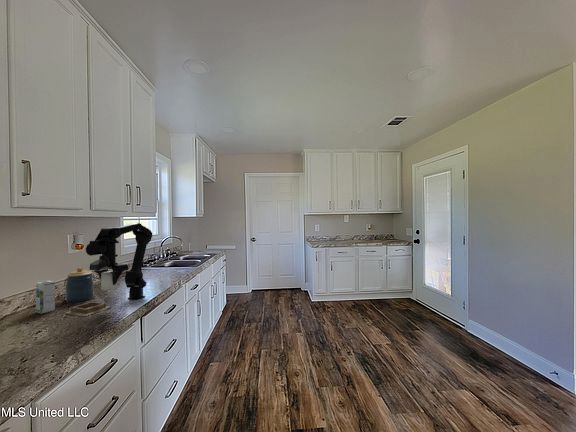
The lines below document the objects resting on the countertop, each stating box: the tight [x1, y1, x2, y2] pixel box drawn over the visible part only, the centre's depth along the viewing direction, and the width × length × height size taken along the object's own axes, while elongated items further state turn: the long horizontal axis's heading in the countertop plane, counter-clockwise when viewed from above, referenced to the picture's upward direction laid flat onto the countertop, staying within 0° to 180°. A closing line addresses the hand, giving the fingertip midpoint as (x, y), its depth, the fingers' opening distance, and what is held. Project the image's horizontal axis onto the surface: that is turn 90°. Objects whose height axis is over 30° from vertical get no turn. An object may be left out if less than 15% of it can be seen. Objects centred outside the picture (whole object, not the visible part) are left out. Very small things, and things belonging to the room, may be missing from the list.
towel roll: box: [100, 270, 118, 291], centre depth 138 cm, size 6×6×8 cm
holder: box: [64, 301, 112, 318], centre depth 136 cm, size 13×13×3 cm
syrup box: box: [35, 280, 56, 314], centre depth 136 cm, size 6×6×14 cm
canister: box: [64, 267, 95, 303], centre depth 156 cm, size 13×13×18 cm
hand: (108, 284), depth 138 cm, fingers closed on towel roll, 6 cm apart
